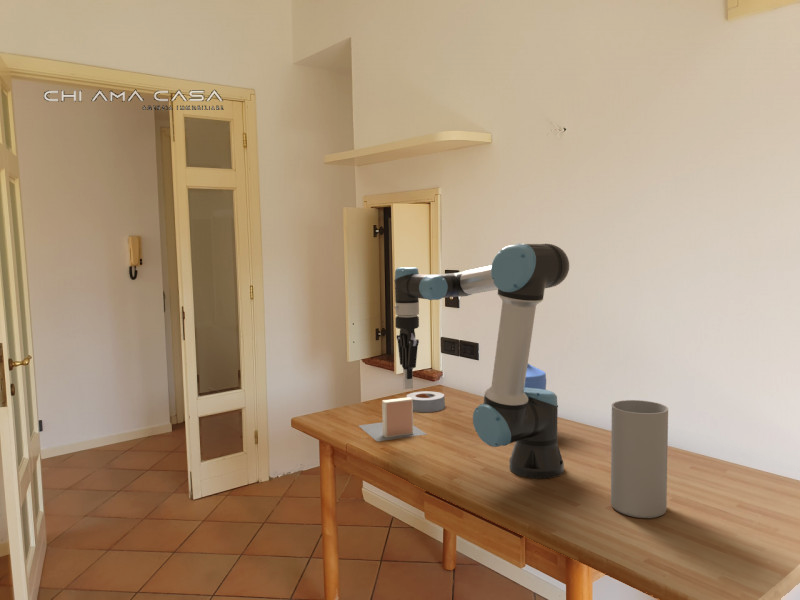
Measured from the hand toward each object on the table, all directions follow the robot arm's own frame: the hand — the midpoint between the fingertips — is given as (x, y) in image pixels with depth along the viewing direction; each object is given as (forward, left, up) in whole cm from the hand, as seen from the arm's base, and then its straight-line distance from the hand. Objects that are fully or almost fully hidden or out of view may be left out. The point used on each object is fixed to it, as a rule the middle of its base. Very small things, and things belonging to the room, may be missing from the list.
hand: (408, 388), depth 197 cm
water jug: (-5, -40, -19) cm, 45 cm away
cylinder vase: (-68, -31, -19) cm, 77 cm away
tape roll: (+40, -24, -19) cm, 50 cm away
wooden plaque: (+10, 0, -18) cm, 20 cm away
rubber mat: (+16, 0, -19) cm, 24 cm away
